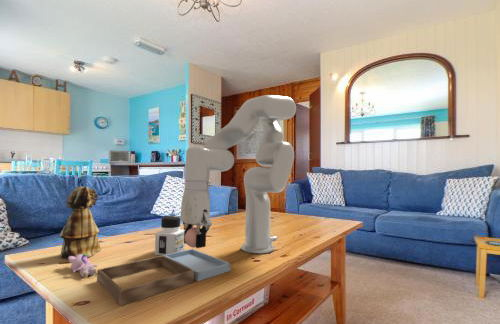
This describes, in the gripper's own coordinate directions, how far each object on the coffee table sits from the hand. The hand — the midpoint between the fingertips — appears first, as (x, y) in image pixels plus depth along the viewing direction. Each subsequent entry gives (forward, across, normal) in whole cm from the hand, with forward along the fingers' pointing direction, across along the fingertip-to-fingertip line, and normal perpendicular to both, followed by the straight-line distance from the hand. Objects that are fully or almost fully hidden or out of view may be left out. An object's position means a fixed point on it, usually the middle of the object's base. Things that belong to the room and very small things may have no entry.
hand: (194, 244), depth 81 cm
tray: (+7, 0, 0) cm, 7 cm away
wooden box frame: (+7, +1, -16) cm, 17 cm away
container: (+7, -18, +2) cm, 19 cm away
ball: (+1, 0, 0) cm, 1 cm away
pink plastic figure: (+8, -18, -26) cm, 33 cm away
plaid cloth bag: (+7, -36, -24) cm, 44 cm away
